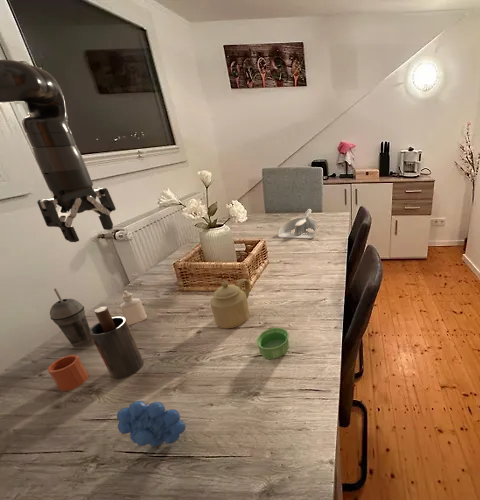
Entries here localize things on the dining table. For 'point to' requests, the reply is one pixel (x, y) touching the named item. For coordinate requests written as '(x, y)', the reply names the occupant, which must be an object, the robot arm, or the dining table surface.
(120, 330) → the dark grey tumbler
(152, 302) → the dining table surface
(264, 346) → the ramekin
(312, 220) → the dustpan and brush
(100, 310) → the brown wooden rod
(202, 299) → the dining table surface
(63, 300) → the beverage cup
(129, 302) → the eye dropper bottle
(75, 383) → the brush holder
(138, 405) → the grapes
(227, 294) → the sugar bowl
